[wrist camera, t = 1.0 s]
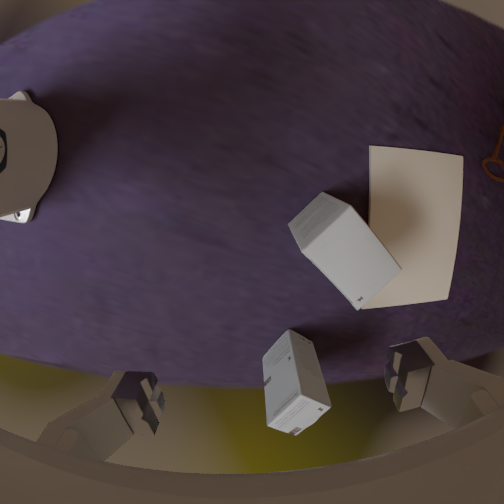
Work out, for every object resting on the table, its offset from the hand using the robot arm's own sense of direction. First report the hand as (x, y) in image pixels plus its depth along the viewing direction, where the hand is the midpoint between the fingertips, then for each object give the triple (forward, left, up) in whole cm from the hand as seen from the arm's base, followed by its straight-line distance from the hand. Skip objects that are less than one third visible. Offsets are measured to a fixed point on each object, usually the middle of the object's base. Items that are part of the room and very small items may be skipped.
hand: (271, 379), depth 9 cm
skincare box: (+3, -17, -25) cm, 31 cm away
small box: (+8, -1, -25) cm, 27 cm away
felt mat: (+20, -1, -25) cm, 32 cm away
